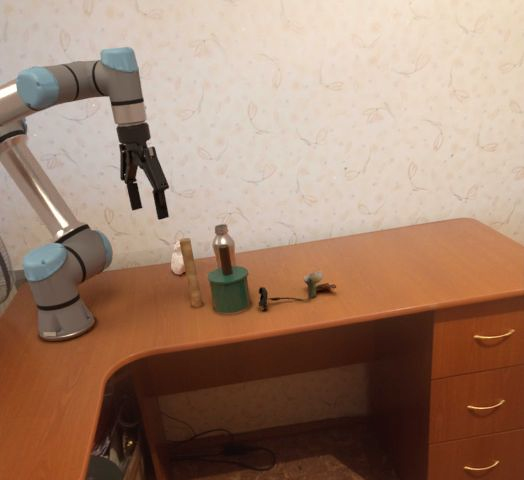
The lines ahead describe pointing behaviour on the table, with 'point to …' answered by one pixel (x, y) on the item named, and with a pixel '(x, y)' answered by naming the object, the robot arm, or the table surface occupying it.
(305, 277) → the artificial flower
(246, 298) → the pot
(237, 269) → the lid
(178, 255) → the bust
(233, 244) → the plastic bottle
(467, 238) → the table surface
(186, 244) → the stick
